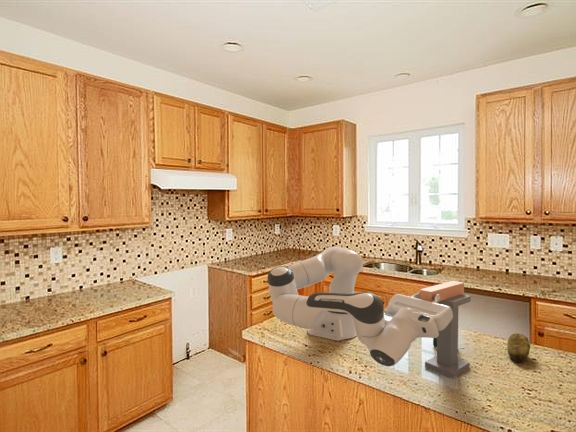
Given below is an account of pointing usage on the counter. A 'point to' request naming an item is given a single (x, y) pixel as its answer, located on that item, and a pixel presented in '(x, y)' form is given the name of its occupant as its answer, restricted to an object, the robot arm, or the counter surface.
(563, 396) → the counter surface
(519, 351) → the potato
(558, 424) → the counter surface
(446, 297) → the block
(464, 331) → the counter surface
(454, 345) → the stand
